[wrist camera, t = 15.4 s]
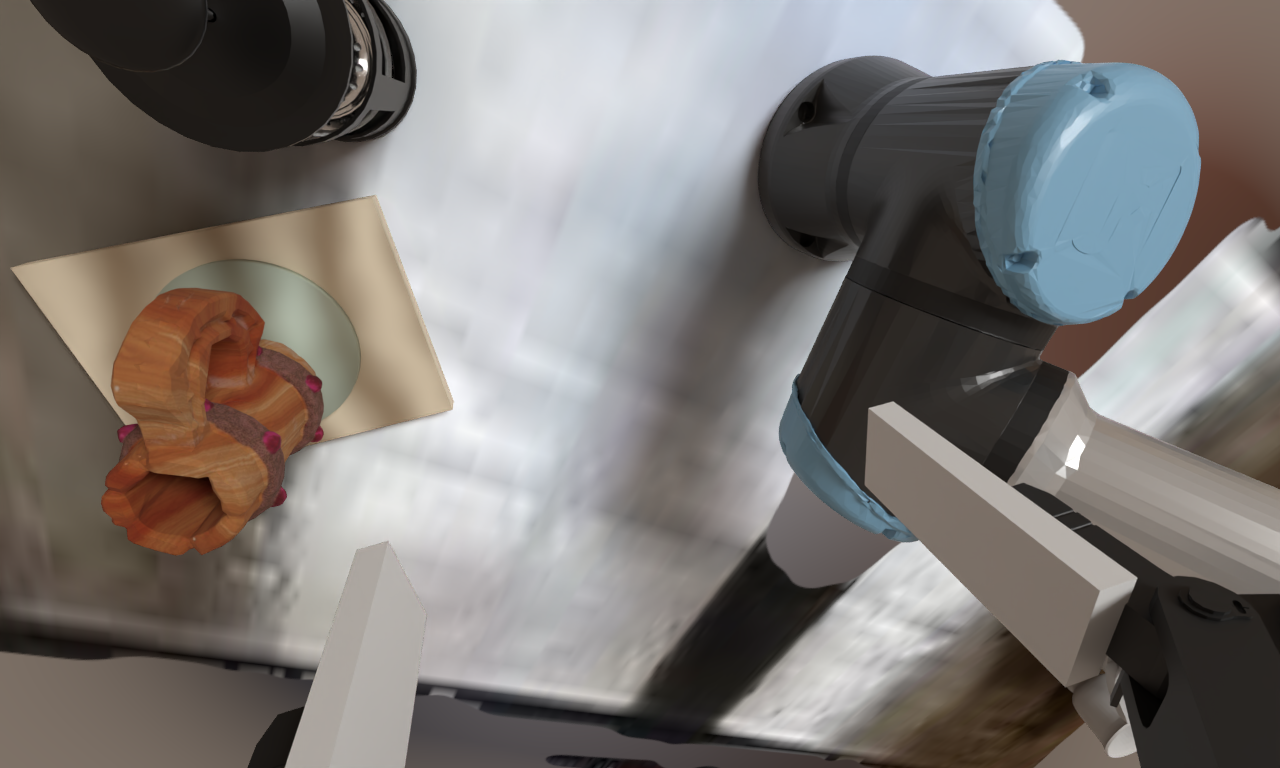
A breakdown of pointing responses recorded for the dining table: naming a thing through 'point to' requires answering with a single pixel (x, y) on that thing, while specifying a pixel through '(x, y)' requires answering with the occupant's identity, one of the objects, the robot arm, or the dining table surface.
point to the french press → (250, 65)
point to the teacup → (1102, 716)
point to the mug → (205, 421)
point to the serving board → (268, 304)
